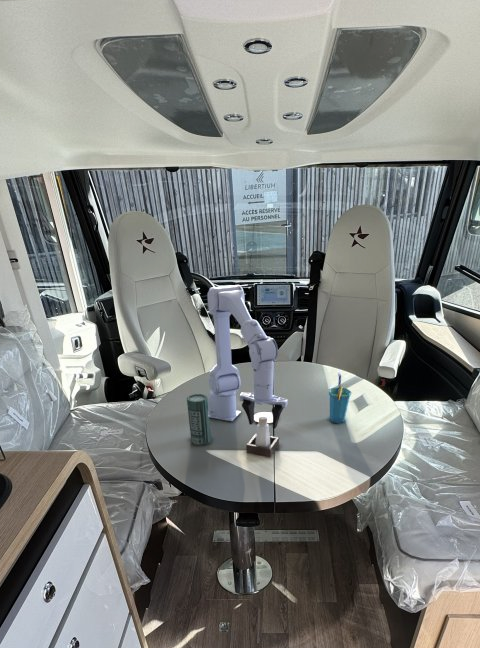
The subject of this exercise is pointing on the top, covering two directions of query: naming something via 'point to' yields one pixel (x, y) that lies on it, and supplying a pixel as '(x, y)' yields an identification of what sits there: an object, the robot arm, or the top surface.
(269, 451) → the box
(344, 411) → the cup
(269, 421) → the coaster
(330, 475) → the top surface
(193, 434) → the can
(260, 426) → the salt shaker
